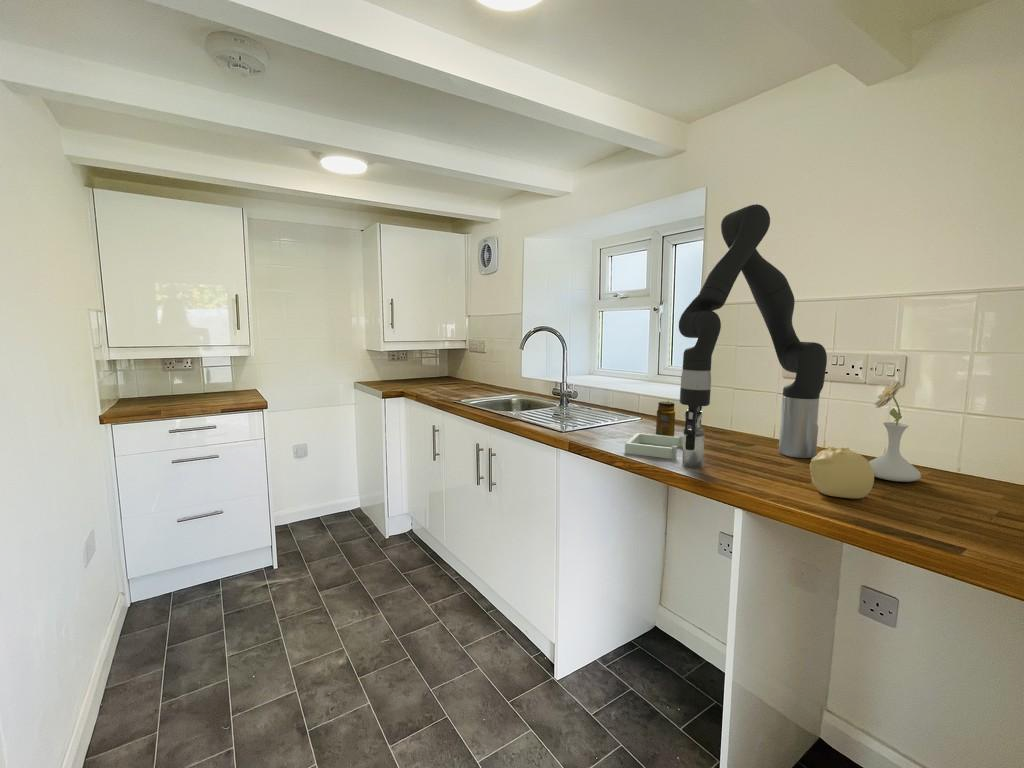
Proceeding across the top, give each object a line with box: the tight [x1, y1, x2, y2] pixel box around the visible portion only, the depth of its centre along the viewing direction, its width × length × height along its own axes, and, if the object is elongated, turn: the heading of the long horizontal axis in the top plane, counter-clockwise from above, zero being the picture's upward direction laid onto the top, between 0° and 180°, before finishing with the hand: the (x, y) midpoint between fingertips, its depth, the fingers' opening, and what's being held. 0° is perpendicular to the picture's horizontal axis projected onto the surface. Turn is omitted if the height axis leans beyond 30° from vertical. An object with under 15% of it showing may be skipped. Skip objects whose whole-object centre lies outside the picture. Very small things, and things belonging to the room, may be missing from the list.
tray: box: [624, 432, 684, 460], centre depth 145 cm, size 15×16×4 cm
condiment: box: [655, 401, 679, 437], centre depth 162 cm, size 7×8×12 cm
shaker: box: [681, 427, 706, 470], centre depth 128 cm, size 5×5×10 cm
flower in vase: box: [868, 379, 922, 483], centre depth 116 cm, size 13×11×25 cm
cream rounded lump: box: [809, 446, 875, 499], centre depth 106 cm, size 12×12×11 cm
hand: (691, 446), depth 128 cm, fingers open, 8 cm apart
